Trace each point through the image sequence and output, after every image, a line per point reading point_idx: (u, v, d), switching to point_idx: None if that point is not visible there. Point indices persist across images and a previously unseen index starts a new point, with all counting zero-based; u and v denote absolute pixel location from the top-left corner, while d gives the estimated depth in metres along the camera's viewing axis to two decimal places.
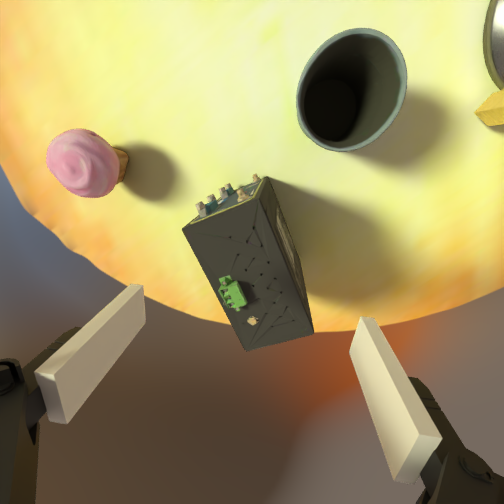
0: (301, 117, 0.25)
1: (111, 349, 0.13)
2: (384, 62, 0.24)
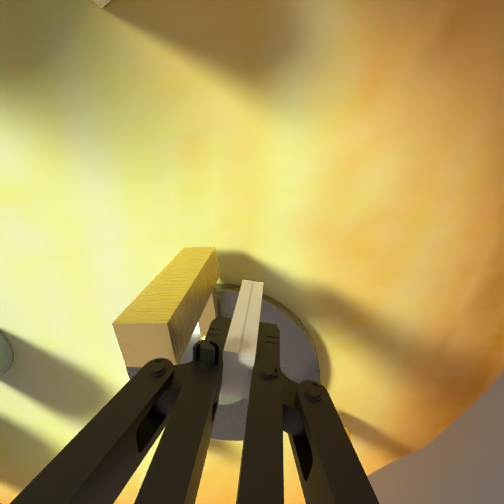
0: None
1: None
2: None
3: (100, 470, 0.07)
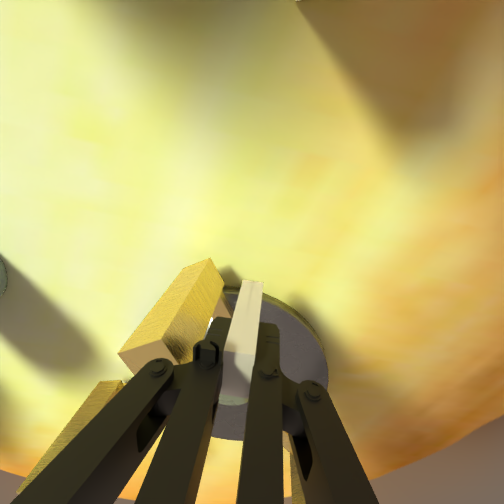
0: None
1: None
2: None
3: (100, 470, 0.07)
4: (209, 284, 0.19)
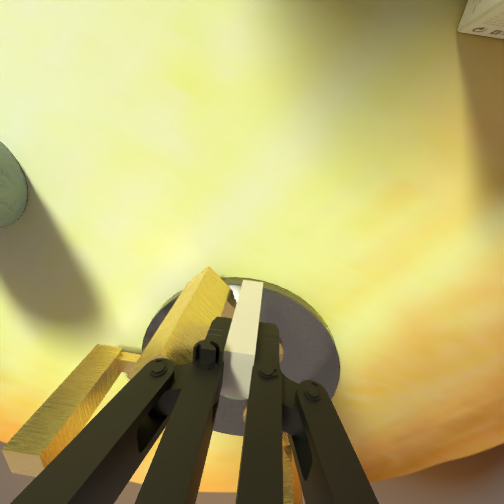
0: None
1: None
2: None
3: (101, 470, 0.07)
4: (211, 292, 0.19)
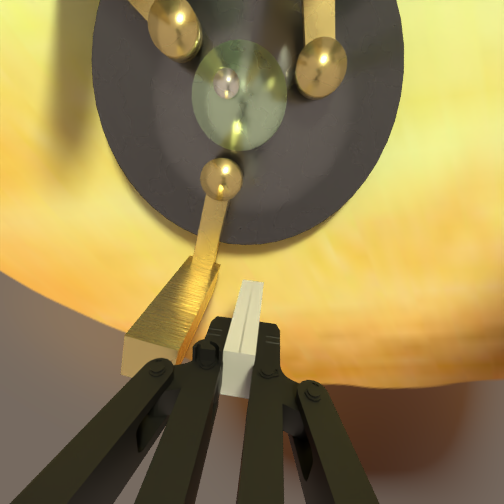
0: None
1: None
2: None
3: (100, 470, 0.07)
4: None
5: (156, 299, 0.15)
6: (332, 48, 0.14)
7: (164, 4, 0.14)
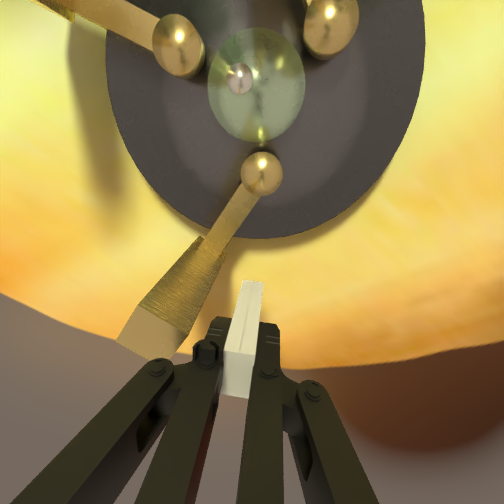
0: None
1: None
2: None
3: (100, 470, 0.07)
4: None
5: (168, 273, 0.14)
6: None
7: (163, 28, 0.14)
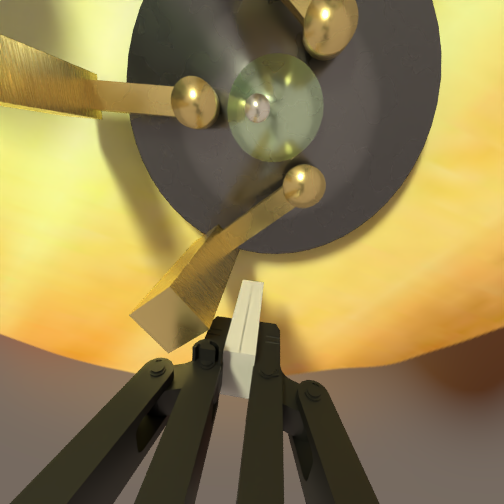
0: None
1: None
2: None
3: (100, 470, 0.07)
4: None
5: (194, 258, 0.13)
6: None
7: (178, 93, 0.15)
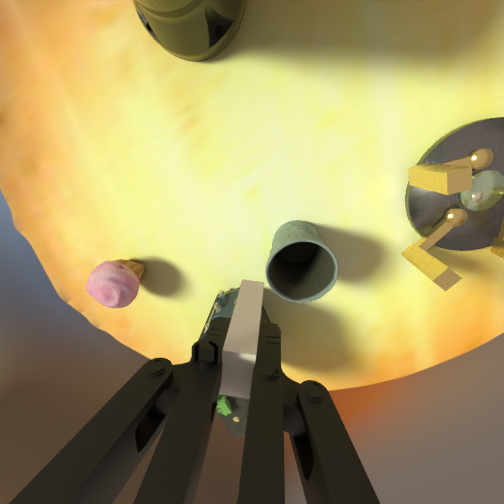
0: (269, 282, 0.37)
1: None
2: (325, 249, 0.36)
3: (99, 470, 0.07)
4: (425, 166, 0.36)
5: None
6: (476, 156, 0.36)
7: (450, 220, 0.39)
